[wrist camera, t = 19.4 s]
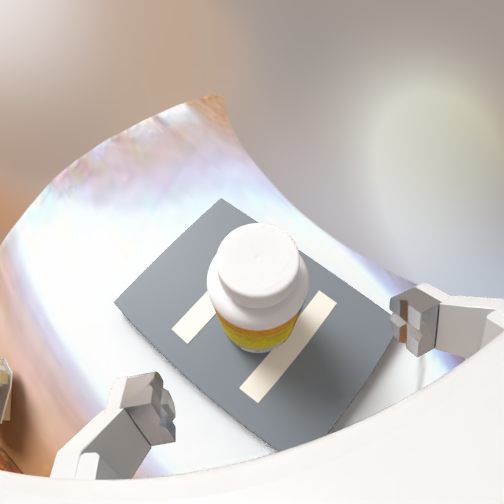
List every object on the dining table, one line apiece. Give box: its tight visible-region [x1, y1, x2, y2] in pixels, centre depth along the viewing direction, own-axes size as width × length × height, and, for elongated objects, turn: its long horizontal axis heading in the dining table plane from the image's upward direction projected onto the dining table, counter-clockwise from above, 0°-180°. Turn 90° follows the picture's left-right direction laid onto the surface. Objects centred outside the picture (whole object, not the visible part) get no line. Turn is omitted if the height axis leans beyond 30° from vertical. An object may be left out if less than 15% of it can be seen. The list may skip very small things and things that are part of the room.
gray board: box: [114, 198, 393, 452], centre depth 24 cm, size 20×14×2 cm
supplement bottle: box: [207, 223, 309, 353], centre depth 18 cm, size 6×6×10 cm
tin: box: [0, 448, 23, 474], centre depth 11 cm, size 15×3×8 cm, turn 61°
